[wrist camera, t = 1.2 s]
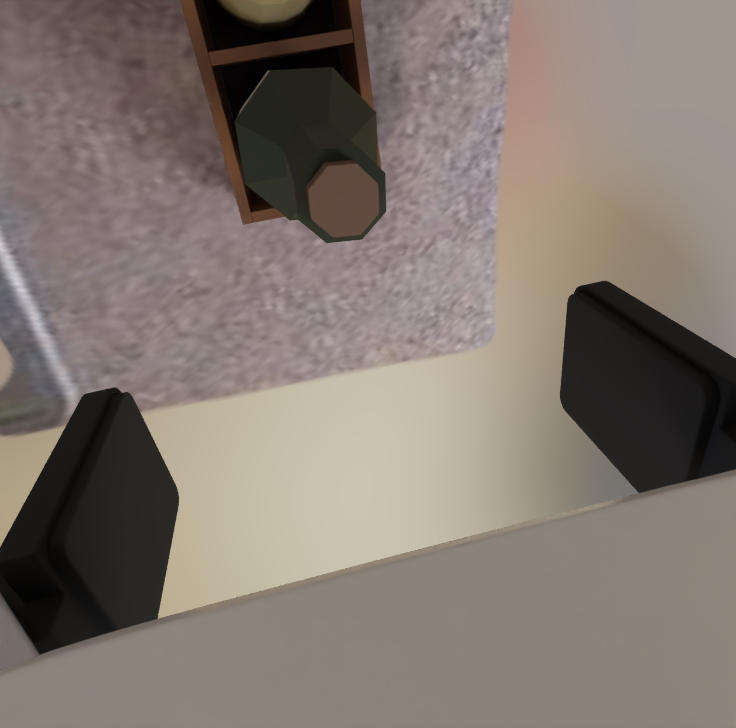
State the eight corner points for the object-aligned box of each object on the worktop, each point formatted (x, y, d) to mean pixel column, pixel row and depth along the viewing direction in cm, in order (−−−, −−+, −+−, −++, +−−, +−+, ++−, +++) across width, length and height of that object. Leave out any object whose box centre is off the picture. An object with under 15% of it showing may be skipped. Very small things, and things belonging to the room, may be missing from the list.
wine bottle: (255, 47, 39) (248, 2, 13) (354, 88, 41) (505, 115, 16) (232, 155, 42) (191, 283, 17) (325, 187, 45) (410, 337, 20)
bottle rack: (157, -124, 33) (131, -174, 26) (321, -146, 34) (336, -199, 27) (245, 201, 44) (243, 224, 37) (365, 178, 45) (384, 197, 38)
